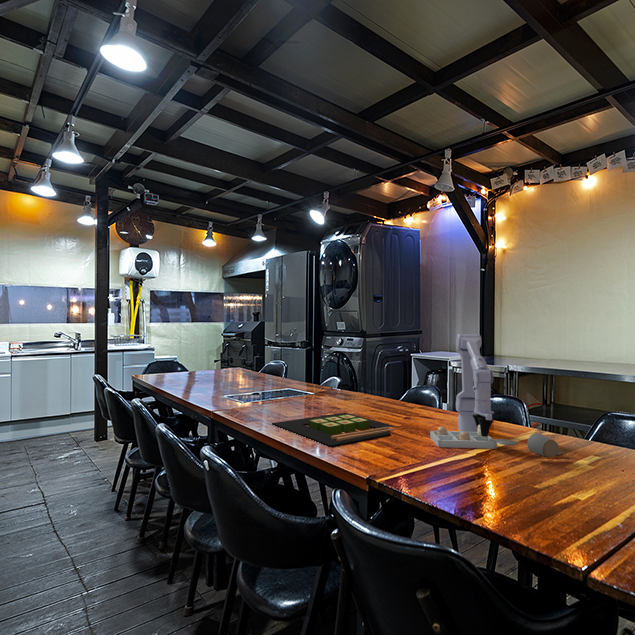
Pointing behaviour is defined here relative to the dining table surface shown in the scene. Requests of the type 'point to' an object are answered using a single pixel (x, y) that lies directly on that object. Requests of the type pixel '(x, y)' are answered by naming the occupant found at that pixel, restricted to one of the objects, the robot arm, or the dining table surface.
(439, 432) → the brown egg
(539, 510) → the dining table surface
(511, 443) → the grey round disc
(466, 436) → the brown egg
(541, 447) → the ceramic mug
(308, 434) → the sushi set
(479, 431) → the cream egg
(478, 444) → the egg carton
